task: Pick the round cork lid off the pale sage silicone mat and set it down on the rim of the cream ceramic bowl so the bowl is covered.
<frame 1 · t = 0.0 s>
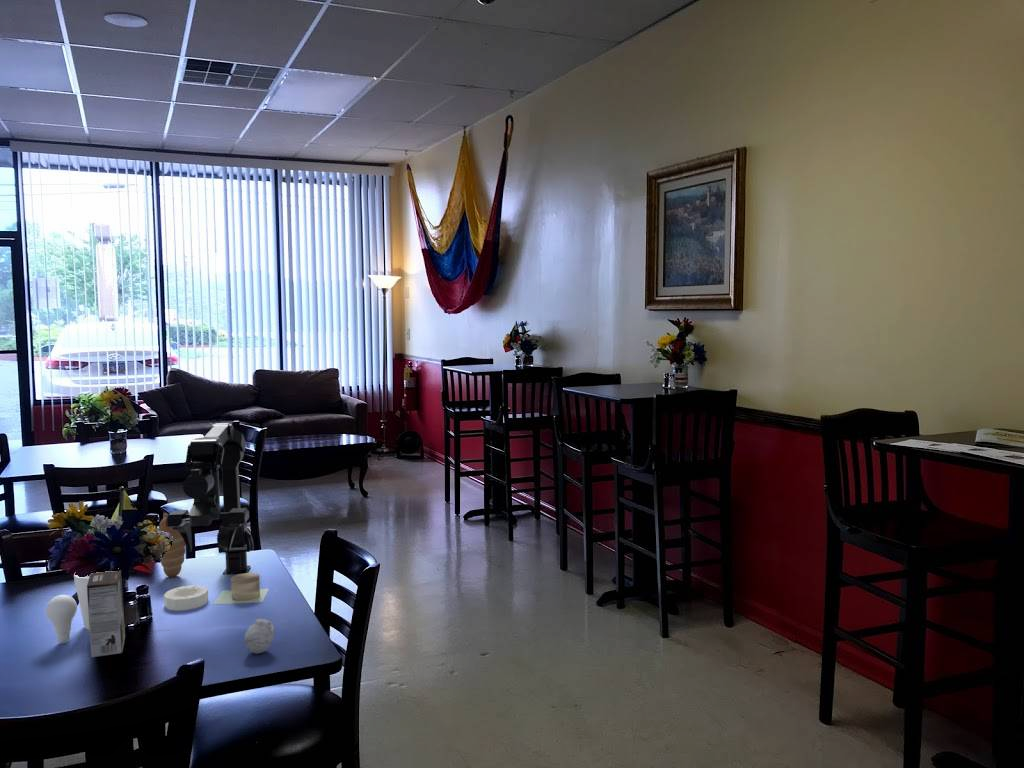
hand: (209, 550, 201), 15 cm above the table, fingers open, 9 cm apart
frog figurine: (259, 652, 176), on the table
lightbulb: (63, 643, 181), on the table
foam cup: (99, 625, 192), on the table
bowl: (186, 604, 205), on the table
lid: (245, 596, 209), resting on mat
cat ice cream: (172, 577, 226), on the table
coffee box: (108, 648, 179), on the table
mat: (242, 597, 209), on the table
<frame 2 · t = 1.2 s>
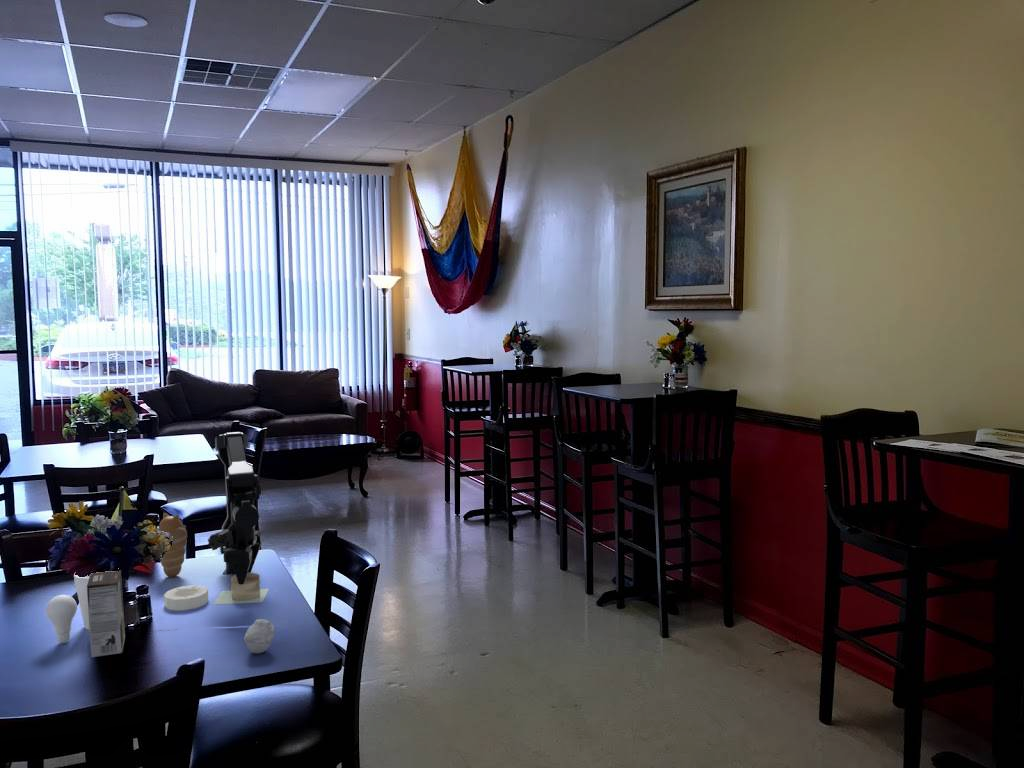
hand: (245, 578, 209), 5 cm above the table, fingers open, 9 cm apart
nothing on the table moved.
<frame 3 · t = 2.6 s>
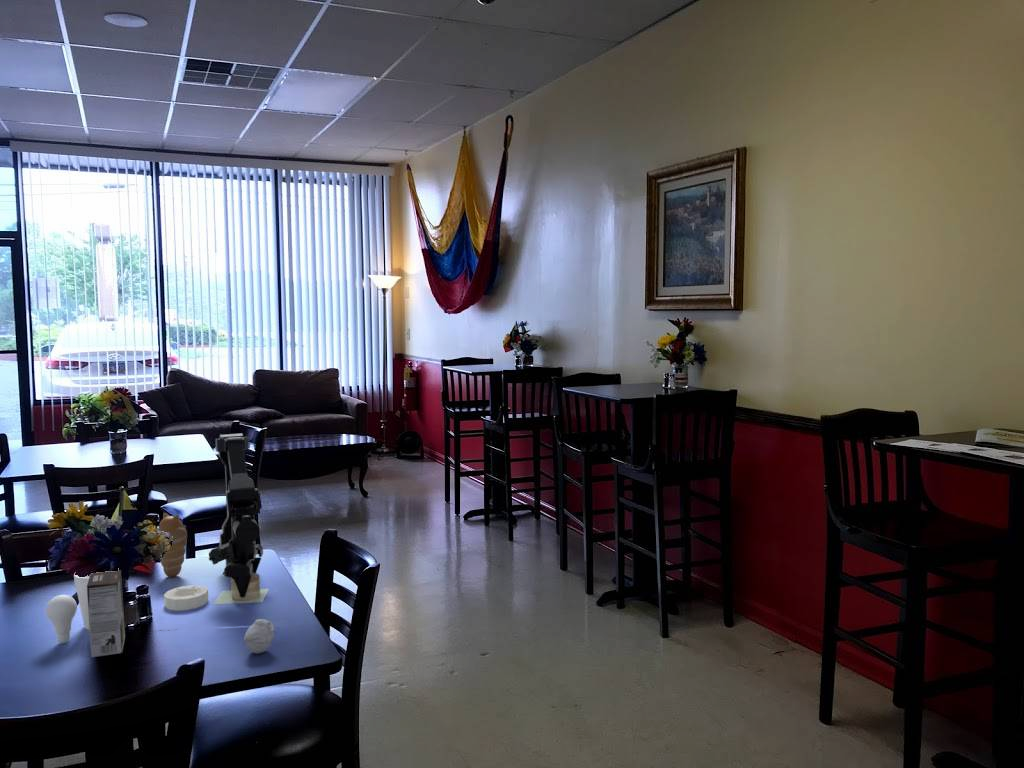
hand: (245, 592, 209), 1 cm above the table, fingers closed on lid, 7 cm apart
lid: (245, 596, 209), resting on mat, touching gripper
everything else where it was.
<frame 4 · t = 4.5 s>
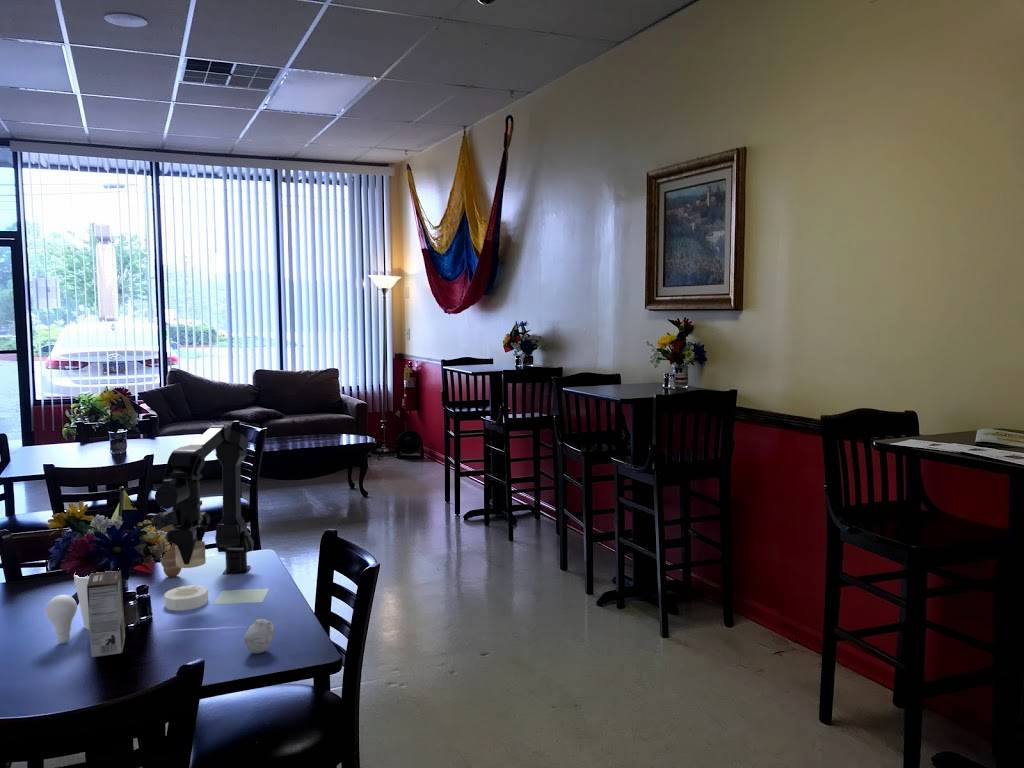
hand: (190, 559, 204), 12 cm above the table, fingers closed on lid, 7 cm apart
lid: (190, 563, 204), point 11 cm above the table, touching gripper
everything else where it was.
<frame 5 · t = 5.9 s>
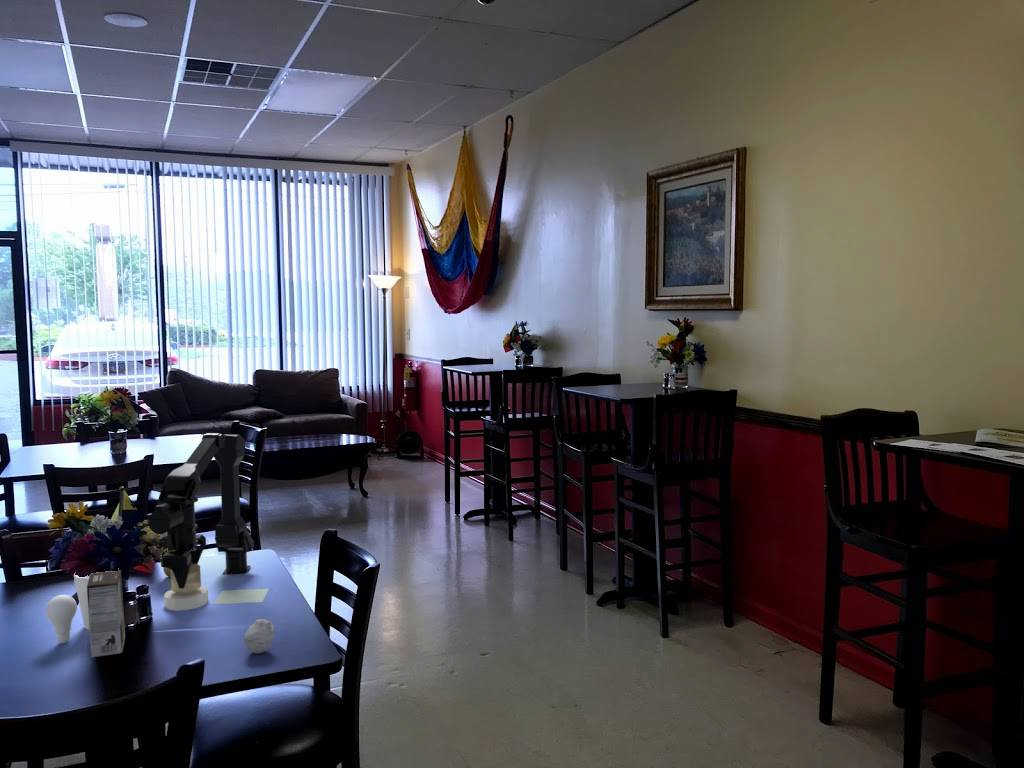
hand: (185, 583, 204), 5 cm above the table, fingers closed on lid, 7 cm apart
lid: (186, 587, 204), point 4 cm above the table, touching gripper
everything else where it was.
when the fingers open (5 cm above the table, at t = 6.7 s): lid drops 1 cm, resting on bowl.
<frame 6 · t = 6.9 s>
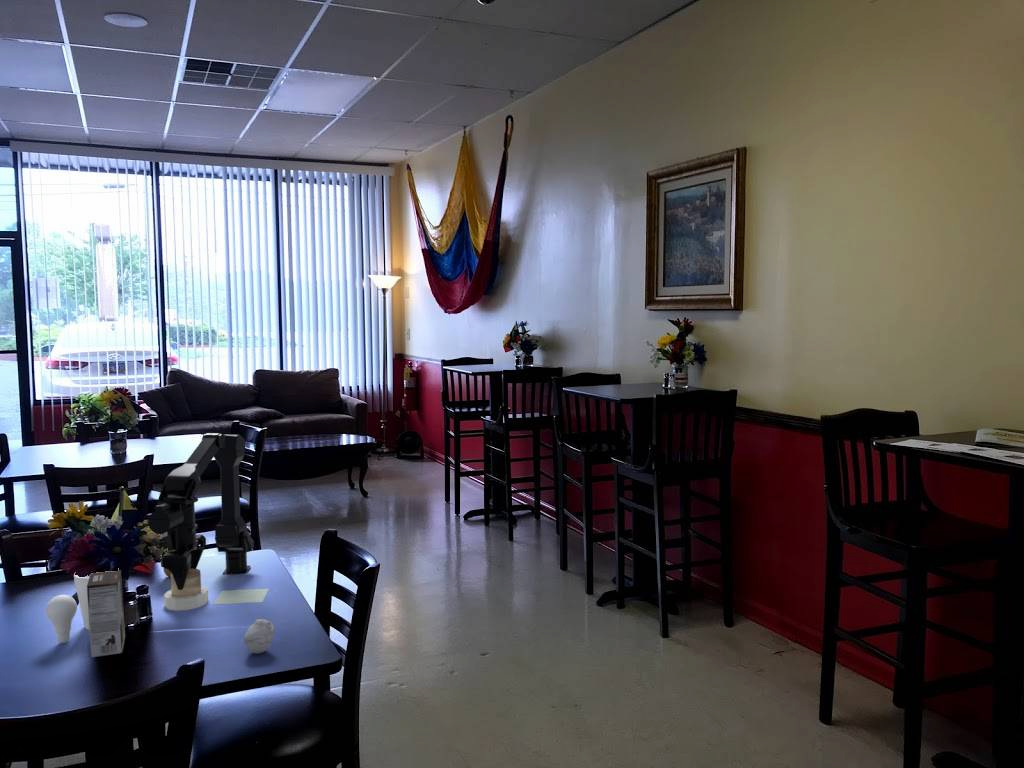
hand: (185, 583, 204), 5 cm above the table, fingers open, 9 cm apart
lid: (186, 592, 204), point 3 cm above the table, touching bowl
everything else where it was.
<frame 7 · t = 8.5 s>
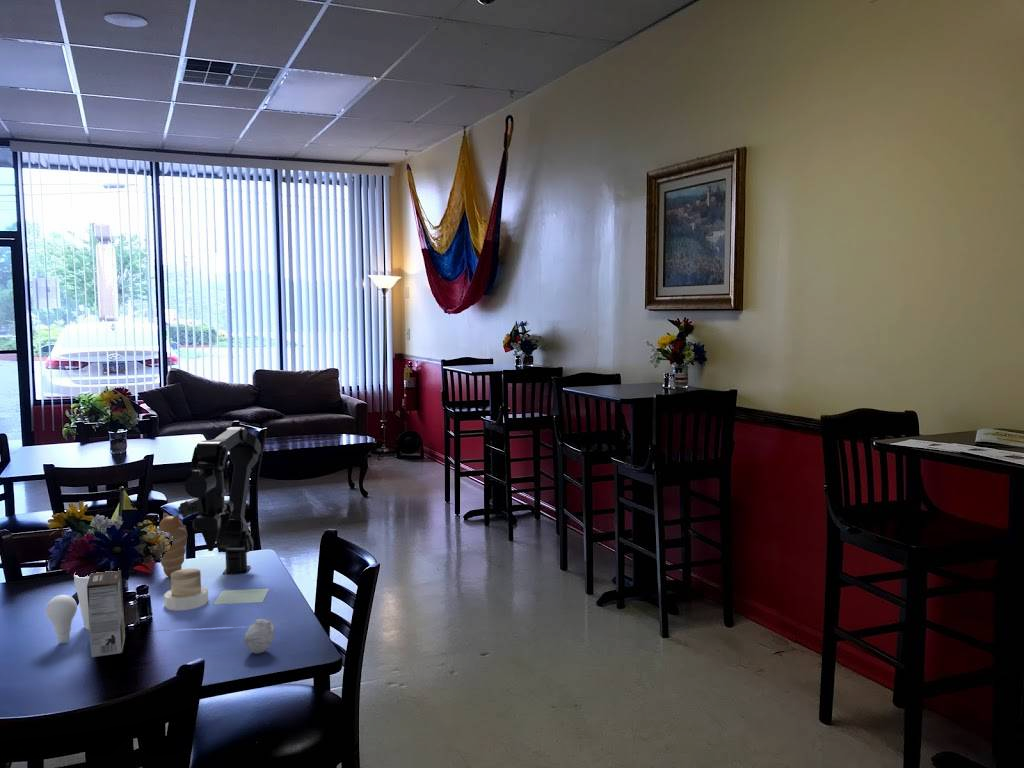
hand: (215, 545, 215), 12 cm above the table, fingers open, 9 cm apart
nothing on the table moved.
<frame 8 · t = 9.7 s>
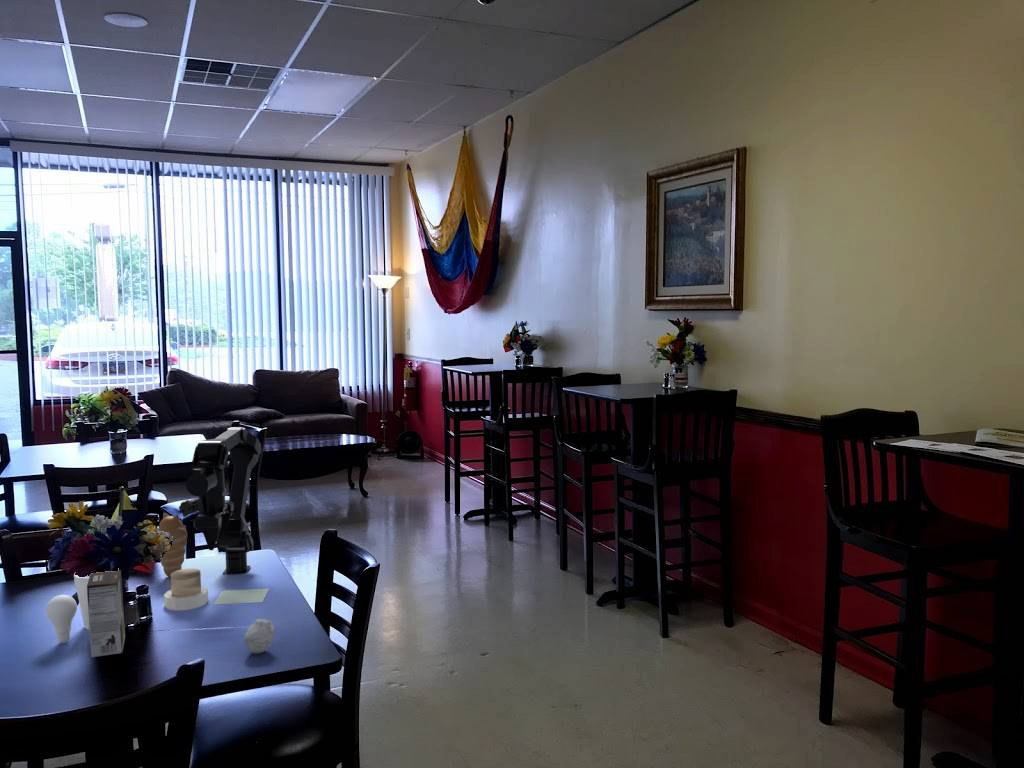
hand: (215, 545, 215), 12 cm above the table, fingers open, 9 cm apart
nothing on the table moved.
at the end: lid 0.1 cm off-centre on the bowl, point 3.2 cm above the bowl's base; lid tilted 0°; the gripper is holding nothing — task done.
